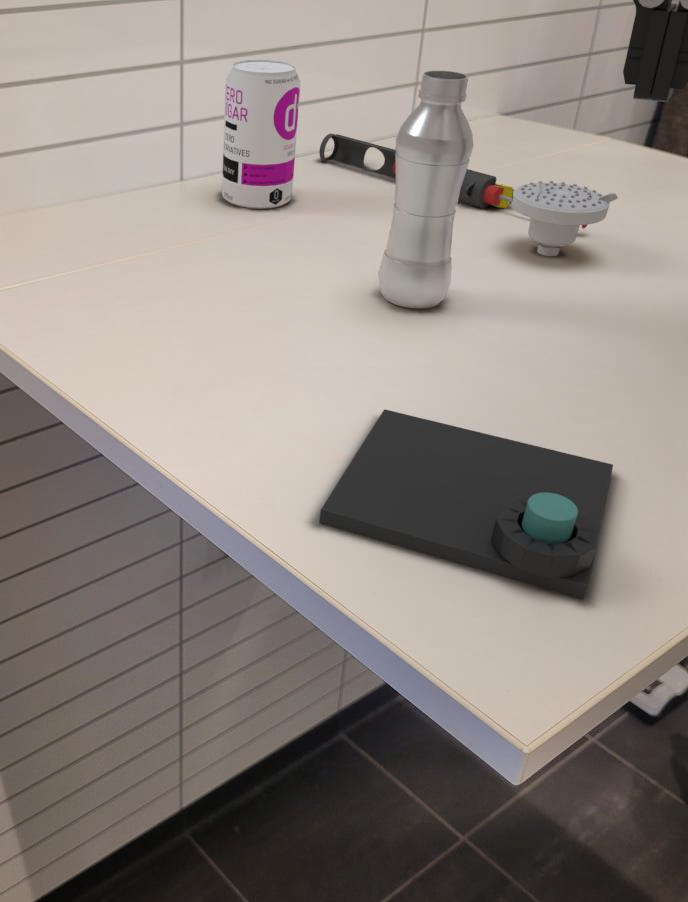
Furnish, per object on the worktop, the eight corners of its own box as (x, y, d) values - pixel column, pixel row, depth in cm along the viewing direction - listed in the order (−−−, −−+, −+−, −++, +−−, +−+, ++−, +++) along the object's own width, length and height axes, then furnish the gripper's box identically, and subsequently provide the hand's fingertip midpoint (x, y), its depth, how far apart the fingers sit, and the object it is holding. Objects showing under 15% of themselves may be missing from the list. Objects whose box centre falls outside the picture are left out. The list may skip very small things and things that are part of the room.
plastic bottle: (422, 323, 84) (461, 88, 73) (360, 301, 88) (389, 73, 77) (459, 303, 88) (502, 76, 77) (398, 282, 92) (431, 63, 81)
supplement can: (303, 199, 113) (314, 65, 104) (268, 218, 107) (277, 77, 98) (245, 186, 116) (251, 55, 108) (208, 203, 110) (212, 66, 102)
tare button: (573, 523, 56) (581, 499, 55) (567, 550, 54) (575, 525, 53) (525, 510, 57) (532, 487, 56) (517, 536, 55) (524, 512, 54)
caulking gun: (363, 134, 129) (318, 131, 122) (619, 202, 107) (581, 203, 100) (357, 164, 130) (311, 162, 124) (607, 237, 108) (568, 240, 102)
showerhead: (619, 207, 90) (512, 194, 93) (599, 279, 94) (497, 264, 97) (618, 180, 98) (519, 168, 100) (599, 248, 102) (505, 234, 104)
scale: (607, 481, 64) (619, 444, 63) (581, 608, 54) (595, 567, 52) (381, 425, 70) (387, 389, 68) (316, 530, 59) (321, 491, 57)
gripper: (994, -427, 33) (819, 94, 43) (600, -386, 38) (526, 69, 48) (1021, -474, 28) (814, 134, 38) (560, -418, 33) (485, 100, 43)
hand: (652, 96), depth 43 cm, fingers closed
